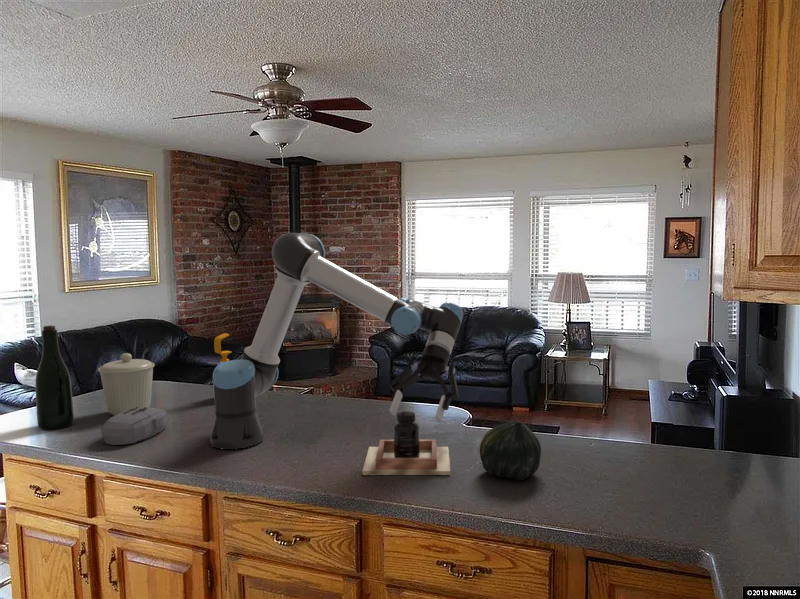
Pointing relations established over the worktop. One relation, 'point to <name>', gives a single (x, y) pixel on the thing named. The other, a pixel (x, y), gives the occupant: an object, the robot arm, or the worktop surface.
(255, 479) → the worktop surface
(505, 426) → the squash
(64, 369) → the wine bottle
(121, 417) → the soft grey pack
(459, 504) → the worktop surface
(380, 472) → the pocket board
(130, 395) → the canister
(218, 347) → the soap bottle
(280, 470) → the worktop surface
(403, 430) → the supplement bottle
